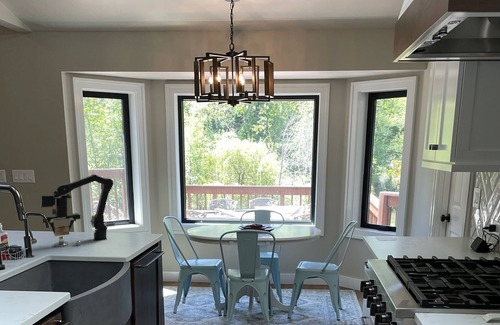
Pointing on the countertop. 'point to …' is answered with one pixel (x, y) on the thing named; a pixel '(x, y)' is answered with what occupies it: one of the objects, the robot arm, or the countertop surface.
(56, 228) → the wooden square frame
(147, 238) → the countertop surface
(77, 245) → the grey metal cylinder
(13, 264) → the countertop surface
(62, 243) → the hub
